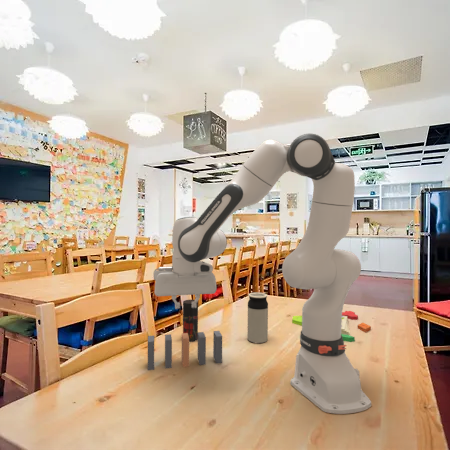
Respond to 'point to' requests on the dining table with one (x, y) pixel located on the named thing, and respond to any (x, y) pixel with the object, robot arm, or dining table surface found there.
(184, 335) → the domino
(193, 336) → the deodorant
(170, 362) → the domino
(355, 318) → the pattern blocks set
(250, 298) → the travel mug
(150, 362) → the domino
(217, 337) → the domino
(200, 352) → the domino
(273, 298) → the dining table surface
